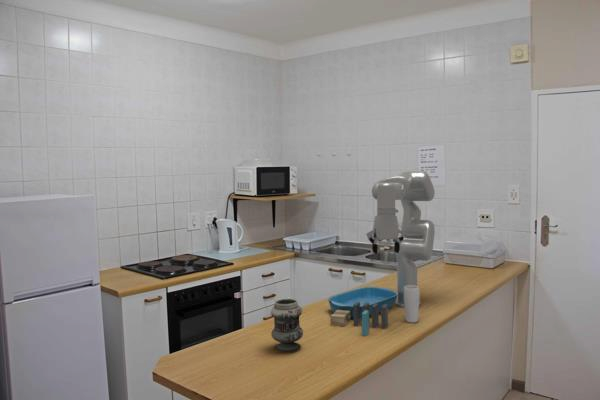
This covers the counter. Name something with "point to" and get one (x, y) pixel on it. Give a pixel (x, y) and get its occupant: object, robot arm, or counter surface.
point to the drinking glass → (411, 302)
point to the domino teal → (365, 323)
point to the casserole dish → (363, 299)
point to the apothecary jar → (286, 325)
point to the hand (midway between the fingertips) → (386, 252)
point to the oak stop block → (340, 317)
